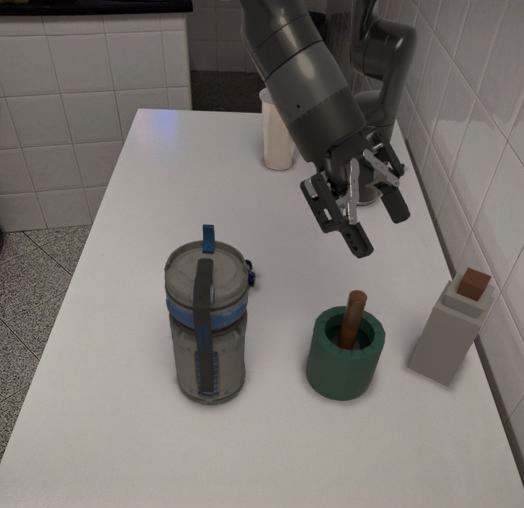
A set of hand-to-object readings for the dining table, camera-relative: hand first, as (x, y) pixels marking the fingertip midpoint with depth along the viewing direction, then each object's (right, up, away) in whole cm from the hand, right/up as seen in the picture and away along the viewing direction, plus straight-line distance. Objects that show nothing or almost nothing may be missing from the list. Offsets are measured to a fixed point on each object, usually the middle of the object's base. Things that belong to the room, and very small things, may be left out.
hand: (385, 237), depth 58 cm
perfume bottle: (+14, -15, +24) cm, 31 cm away
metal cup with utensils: (-10, +30, +60) cm, 68 cm away
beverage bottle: (-22, -18, +19) cm, 34 cm away
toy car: (-21, 0, +34) cm, 40 cm away
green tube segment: (-2, -17, +21) cm, 27 cm away
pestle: (-2, -16, +20) cm, 26 cm away
